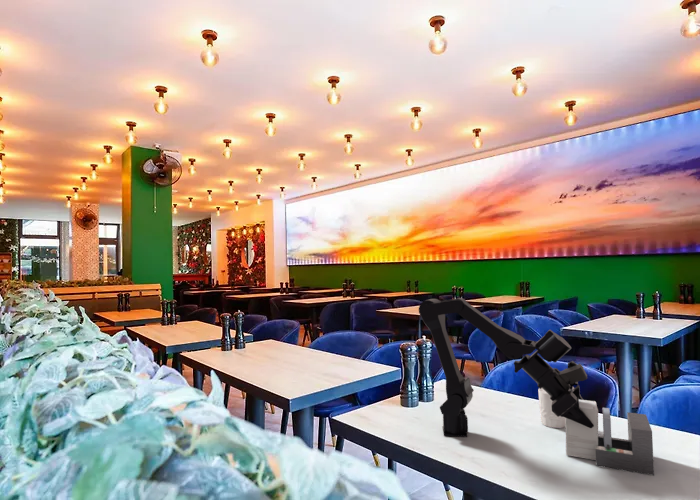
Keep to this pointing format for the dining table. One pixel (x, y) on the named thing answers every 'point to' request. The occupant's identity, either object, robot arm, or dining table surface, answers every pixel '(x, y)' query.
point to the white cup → (549, 411)
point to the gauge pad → (607, 428)
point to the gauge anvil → (629, 448)
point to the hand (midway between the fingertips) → (592, 421)
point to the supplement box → (583, 433)
